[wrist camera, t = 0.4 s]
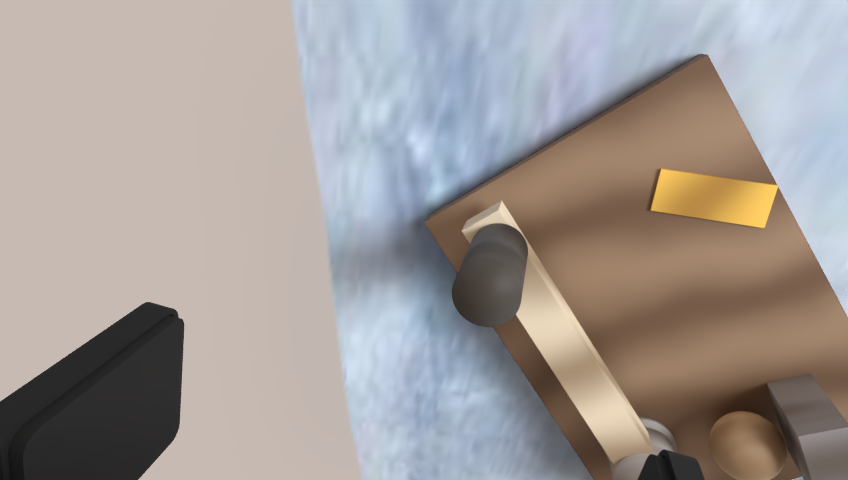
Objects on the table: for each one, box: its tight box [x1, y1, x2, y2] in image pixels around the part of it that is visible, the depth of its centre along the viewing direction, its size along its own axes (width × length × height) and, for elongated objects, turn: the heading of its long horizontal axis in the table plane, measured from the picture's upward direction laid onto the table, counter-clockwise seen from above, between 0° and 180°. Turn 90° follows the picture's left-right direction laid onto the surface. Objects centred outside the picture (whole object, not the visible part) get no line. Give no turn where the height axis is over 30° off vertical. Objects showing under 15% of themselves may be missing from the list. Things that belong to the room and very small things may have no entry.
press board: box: [424, 54, 848, 480], centre depth 33 cm, size 26×18×6 cm
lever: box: [452, 201, 675, 480], centre depth 32 cm, size 22×4×8 cm, turn 34°
